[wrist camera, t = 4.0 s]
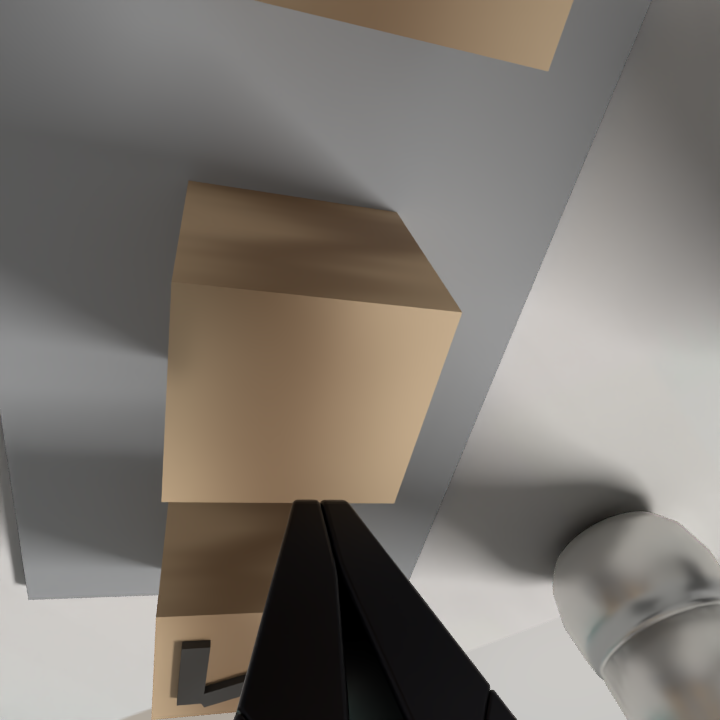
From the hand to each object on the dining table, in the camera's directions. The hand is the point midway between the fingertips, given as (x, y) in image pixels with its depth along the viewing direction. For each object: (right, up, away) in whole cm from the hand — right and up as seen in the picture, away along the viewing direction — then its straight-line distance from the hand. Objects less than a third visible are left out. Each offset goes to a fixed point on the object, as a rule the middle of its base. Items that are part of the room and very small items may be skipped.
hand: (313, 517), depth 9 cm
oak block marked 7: (-3, -3, +11) cm, 12 cm away
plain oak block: (-1, +4, +6) cm, 8 cm away
